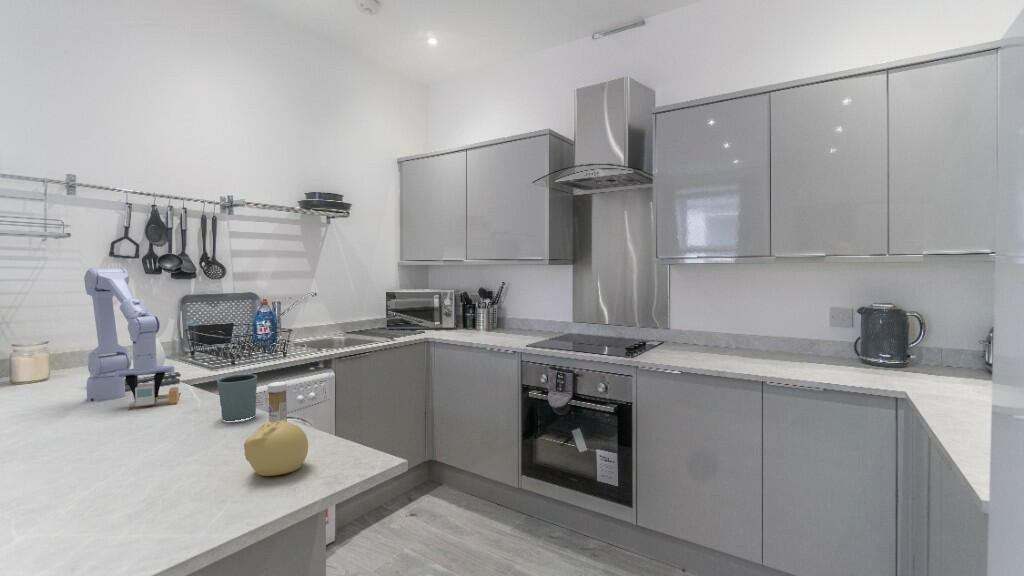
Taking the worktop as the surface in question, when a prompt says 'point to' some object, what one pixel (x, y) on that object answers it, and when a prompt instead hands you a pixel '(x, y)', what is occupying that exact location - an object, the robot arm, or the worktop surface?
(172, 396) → the rail
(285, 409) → the sprinkles bottle
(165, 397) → the board
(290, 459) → the sculpture
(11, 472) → the worktop surface
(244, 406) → the teal cup
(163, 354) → the sauce bottle
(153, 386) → the block
